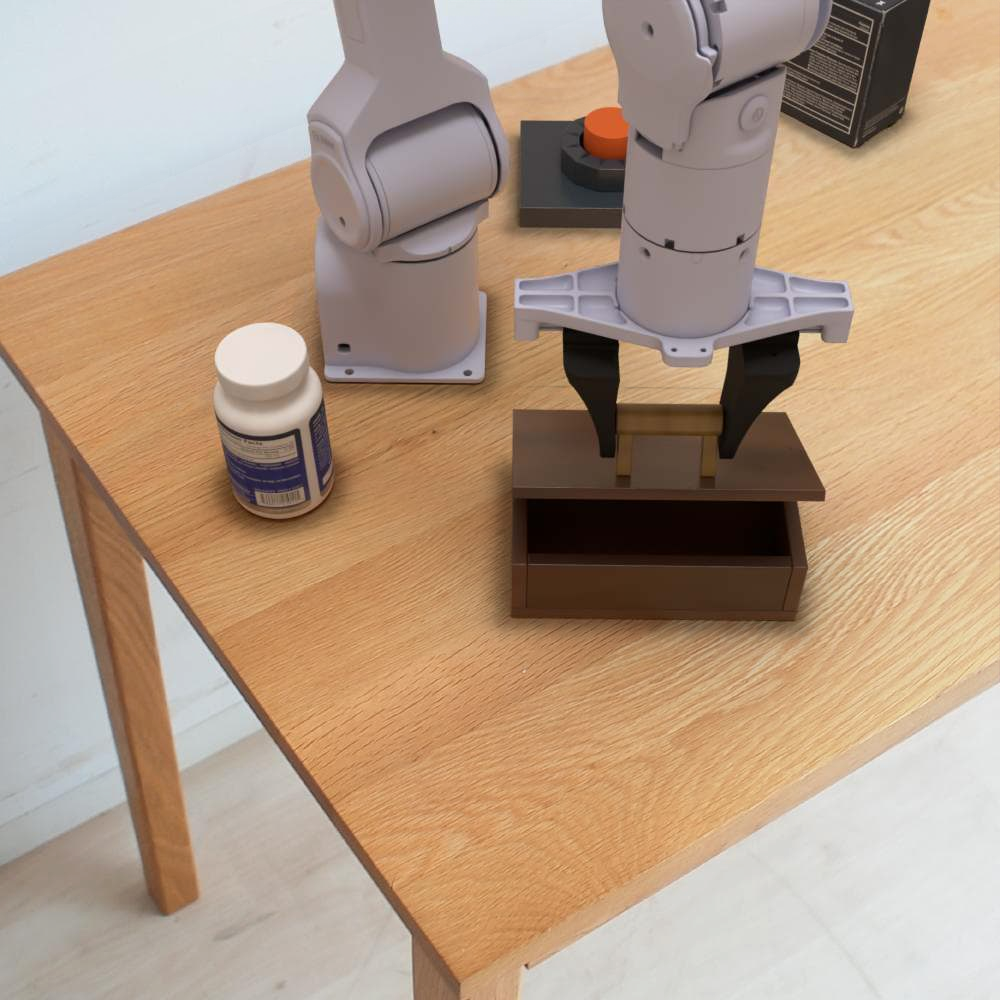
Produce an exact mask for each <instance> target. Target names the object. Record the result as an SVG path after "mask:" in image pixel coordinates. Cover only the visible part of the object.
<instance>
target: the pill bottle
mask: <svg viewBox="0 0 1000 1000" xmlns="http://www.w3.org/2000/svg"><path fill="white" fill-rule="evenodd" d="M310 363H311V362H310V357H309V353H308V347H307V344H306V342H305V339H304V338H303V337H302V335H301V334H300V333H299V332H298V331H297V330H295V329H294V328H292V327H290V326H288V325H285V324H282V323H276V322H255V323H251V324H247V325H244V326H241V327H239V328H237V329H235V330H233V331H231V332H230V333H229V334H227V335H226V336H225V337H223V339H222V340H221V341H220V343H219V344H218V346H217V347H216V349H215V353H214V365H215V366H214V367H215V371H216V375H217V379H218V380H217V382H216V384H215V387H214V389H213V395H212V403H213V409H214V414H215V420H216V424H217V428H218V433H219V437H220V442H221V446H222V451H223V454H224V460H225V464H226V469H227V473H228V478H229V482H230V487H231V490H232V493H233V495H234V497H235V499H236V500H237V502H238V503H239V504H240V505H241V507H243V508H244V509H245V510H247V511H248V512H250V513H251V514H254V515H257V516H259V517H263V518H266V519H275V520H281V519H282V520H283V519H290V518H294V517H298V516H302V515H304V514H306V513H308V512H310V511H312V510H314V509H315V508H317V507H318V506H319V505H320V504H321V503H323V502H324V500H325V499H327V497H328V495H329V493H330V492H331V490H332V489H333V485H334V481H335V466H334V465H335V464H334V458H333V452H332V445H331V438H330V431H329V426H328V417H327V413H326V412H327V411H326V405H325V398H324V392H323V386H322V382H321V379H320V377H319V375H318V374H317V372H316V371H315V369H313V367H312V366H310V365H311V364H310Z"/></svg>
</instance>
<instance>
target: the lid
mask: <svg viewBox="0 0 1000 1000" xmlns="http://www.w3.org/2000/svg"><path fill="white" fill-rule="evenodd" d="M723 426H724V411H723V406H722V405H721V404H719V403H659V402H658V403H654V402H651V403H650V402H649V403H648V402H647V403H645V402H643V403H642V402H617V403H616V411H615V435H616V452H615V458H602V457H600V450H599V441H598V436H597V433H596V429H595V426H594V423H593V421H592V418H591V416H590V414H589V411H588V409H538V408H537V409H536V408H535V409H532V408H531V409H527V408H525V409H523V408H521V409H519V408H517V409H516V408H514V409H512V451H511V452H512V453H511V459H512V460H511V499H512V498H541V499H632V500H723V501H797V502H815V503H816V502H818V503H819V502H821V503H823V502H825V501H826V495H827V494H826V493H827V490H826V488H825V486H824V484H823V482H822V480H821V478H820V476H819V474H818V471H817V470H816V468H815V466H814V464H813V463H812V460H811V458H810V456H809V454H808V452H807V451H806V449H805V446H804V445H803V442H802V441H801V439H800V436H799V435H798V432H797V431H796V429H795V427H794V425H793V423H792V421H791V419H790V416H789V415H788V413H787V412H786V411H762V412H761V413H760V414H759V416H758V417H757V418H756V420H755V421H754V423H753V424H752V425H751V427H750V428H749V430H748V431H747V433H746V435H745V436H744V438H743V440H742V442H741V444H740V445H739V447H738V450H737V452H736V454H735V456H734V458H733V459H719V450H718V436H721V435H722V432H723Z"/></svg>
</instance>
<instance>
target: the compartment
mask: <svg viewBox="0 0 1000 1000" xmlns="http://www.w3.org/2000/svg"><path fill="white" fill-rule="evenodd" d="M798 502H799V501H723V500H632V499H541V498H512V497H511V536H510V537H511V539H510V540H511V541H510V545H511V546H510V548H511V549H510V554H511V555H510V617H511V618H541V619H542V618H544V619H545V618H547V619H548V618H549V619H550V618H551V619H553V618H554V619H555V618H556V619H569V618H570V619H631V620H632V619H634V620H636V619H638V620H639V619H642V620H713V621H714V620H716V621H717V620H719V621H723V620H725V621H729V620H730V621H795V620H796V618H797V614H798V610H799V607H800V603H801V598H802V594H803V591H804V587H805V582H806V579H807V574H808V571H809V564H808V558H807V551H806V545H805V540H804V534H803V528H802V522H801V516H800V515H801V514H800V508H799V503H798Z"/></svg>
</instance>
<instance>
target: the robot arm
mask: <svg viewBox="0 0 1000 1000" xmlns="http://www.w3.org/2000/svg"><path fill="white" fill-rule="evenodd" d="M832 2H833V0H601V12H602V13H601V14H602V21H603V26H604V30H605V31H604V32H605V34H606V38H607V43H608V45H609V48H610V50H611V53H612V56H613V59H614V61H615V65H616V70H617V76H618V85H617V86H618V89H617V104H619V106H620V108H622V117H623V119H624V120H625V121H626V122H627V123H629V128H628V142H627V156H626V169H625V183H624V197H623V209H622V222H621V228H620V239H619V251H618V253H619V254H618V260H617V261H612V262H607V263H604V264H600V265H595V266H590V267H586V268H582V269H577V270H573V271H568V272H564V273H559V274H554V275H548V276H540V277H527V278H526V277H525V278H515V279H514V286H513V287H514V289H513V290H514V291H513V292H514V293H513V340H514V341H520V342H521V341H522V342H523V341H528V342H530V341H531V342H533V341H537V340H539V337H540V332H562V366H563V370H564V373H565V376H566V379H567V381H568V383H569V385H570V386H571V387H572V388H573V389H574V390H575V392H576V393H577V394H578V396H579V398H580V399H581V400H582V403H583V404H584V405H585V407H586V410H588V411H589V414H590V416H591V418H592V421H593V423H594V426H595V429H596V433H597V436H598V441H599V450H600V457H602V458H615V452H616V435H615V411H616V403H618V402H617V400H618V397H619V396H618V395H619V388H620V383H621V372H620V357H619V354H620V342H624V343H628V344H632V345H636V346H641V347H645V348H648V349H652V350H657V351H659V352H660V354H661V360H662V362H663V364H665V365H666V366H668V367H672V368H705V367H708V366H710V365H711V364H712V362H713V357H714V351H717V350H722V349H725V348H728V355H727V364H726V371H725V376H724V380H723V385H722V389H721V393H720V398H719V402H718V404H721V405H722V406H723V411H724V426H723V432H722V435H721V436H718V450H719V459H733V458H734V456H735V454H736V452H737V450H738V447H739V445H740V444H741V442H742V440H743V438H744V436H745V435H746V433H747V431H748V430H749V428H750V427H751V425H752V424H753V423H754V421H755V420H756V418H757V417H758V416H759V414H760V413H761V412H764V410H765V409H766V408H767V407H768V406H769V405H770V404H771V403H772V402H773V401H774V400H775V399H776V398H777V397H778V396H779V395H781V394H782V393H783V392H785V391H786V390H788V389H789V388H791V387H793V385H794V384H795V382H796V380H797V378H798V375H799V373H800V368H801V356H800V355H801V354H800V350H799V341H800V336H801V334H820V339H821V341H822V342H823V343H825V344H847V343H848V339H849V335H850V331H851V326H852V322H853V318H854V314H855V306H854V302H853V298H852V294H851V288H850V284H849V281H847V280H828V279H821V278H813V277H808V276H803V275H798V274H793V273H789V272H785V271H780V270H776V269H772V268H768V267H764V266H759V265H756V260H757V254H758V251H759V250H758V248H759V243H760V237H761V231H762V225H763V219H764V213H765V206H766V199H767V194H768V187H769V182H770V181H769V180H770V176H771V170H772V163H773V157H774V151H775V144H776V139H777V134H778V128H779V122H780V121H779V120H780V116H781V115H780V114H781V111H780V109H781V103H782V97H783V91H784V84H785V78H786V72H787V67H785V66H783V65H781V63H784V62H786V61H788V60H790V59H792V58H794V57H796V56H797V55H799V54H800V53H801V52H804V51H806V50H808V49H809V48H811V47H812V46H813V45H814V44H815V43H816V42H817V41H818V40H819V39H820V38H821V36H822V35H823V33H824V31H825V29H826V27H827V24H828V21H829V18H830V14H831V10H832ZM332 3H333V8H334V13H335V18H336V22H337V28H338V32H339V36H340V41H341V47H342V51H343V55H344V61H343V62H342V65H341V66H340V68H339V69H338V71H337V72H336V73H335V74H334V76H333V77H332V78H331V80H330V81H329V83H328V84H327V85H326V87H325V88H324V89H323V91H322V92H321V93H320V94H319V95H318V97H317V99H316V100H315V101H314V102H313V104H311V106H310V108H309V110H308V111H307V114H306V120H307V124H308V127H307V129H308V135H309V141H310V142H309V143H310V151H311V152H310V154H311V157H310V159H311V161H310V167H309V173H310V174H309V175H310V181H311V182H310V183H311V186H312V191H313V194H314V197H315V200H316V201H315V202H316V204H317V206H318V208H319V211H320V214H319V215H318V219H317V222H316V229H315V239H314V240H315V241H314V279H315V293H316V294H315V295H316V302H317V309H318V311H317V312H318V318H319V319H318V320H319V326H320V327H319V328H320V335H321V341H322V343H321V344H322V351H323V359H324V371H323V374H324V379H325V380H326V381H328V382H330V383H405V384H407V383H415V384H416V383H417V384H419V383H421V384H423V383H424V384H480V383H482V382H483V381H484V380H485V378H486V377H485V375H486V372H485V371H486V342H487V341H486V340H487V314H488V313H487V312H488V309H487V307H488V295H487V293H486V292H484V291H483V290H480V289H479V288H480V287H479V283H480V281H479V225H480V223H481V222H483V221H484V220H486V219H488V218H489V217H490V215H489V214H490V211H489V210H490V204H489V203H490V202H489V201H490V199H494V198H496V197H498V196H500V195H501V194H502V193H504V191H505V190H506V188H507V185H508V183H509V178H510V170H511V150H510V146H509V141H508V137H507V135H506V131H505V129H504V126H503V124H502V123H501V121H500V118H499V117H498V114H497V112H496V108H495V106H494V102H493V99H492V95H491V90H490V85H489V79H488V78H487V76H486V75H485V74H484V73H482V72H481V71H480V70H479V69H478V68H477V67H476V66H474V65H473V64H472V63H470V62H469V61H467V60H465V59H464V58H461V57H459V56H457V55H455V54H453V53H451V52H449V51H445V50H443V46H442V38H441V33H440V27H439V21H438V15H437V11H436V9H437V8H436V3H435V0H332Z"/></svg>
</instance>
